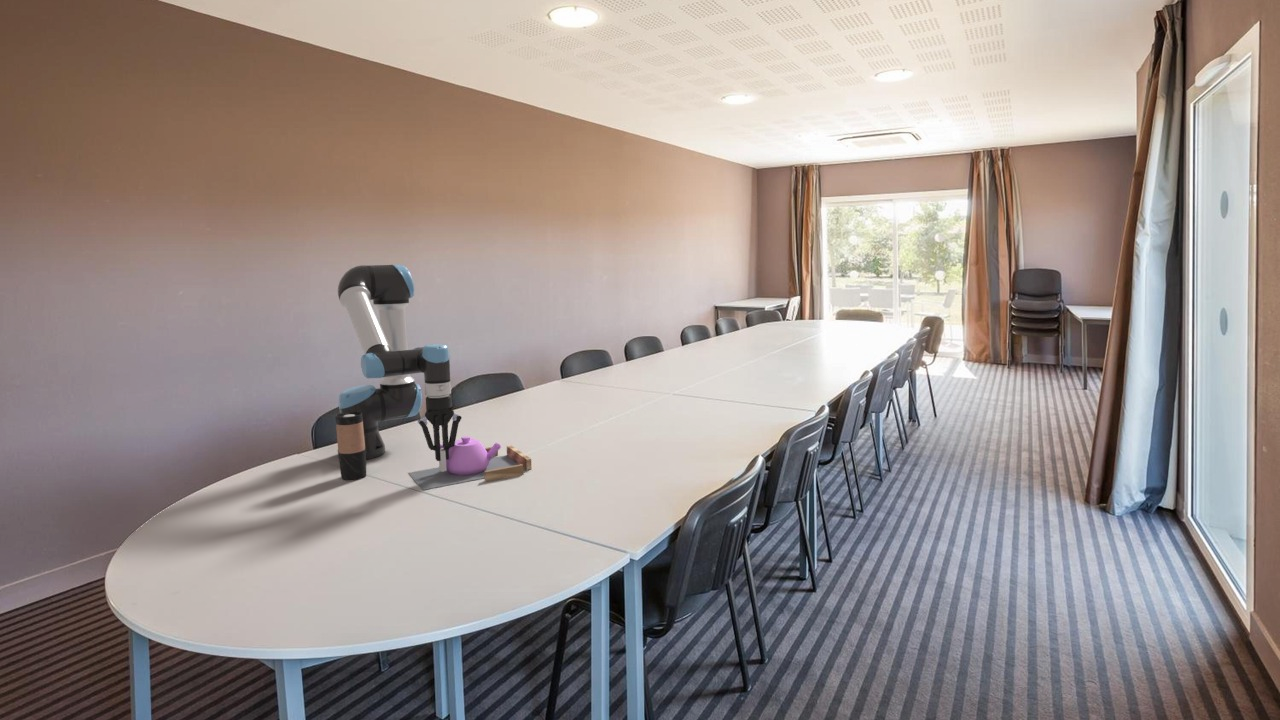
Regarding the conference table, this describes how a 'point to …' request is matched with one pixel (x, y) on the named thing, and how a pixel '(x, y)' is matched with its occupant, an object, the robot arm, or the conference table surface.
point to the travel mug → (351, 446)
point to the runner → (440, 479)
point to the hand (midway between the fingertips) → (443, 470)
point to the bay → (510, 470)
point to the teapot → (469, 456)
